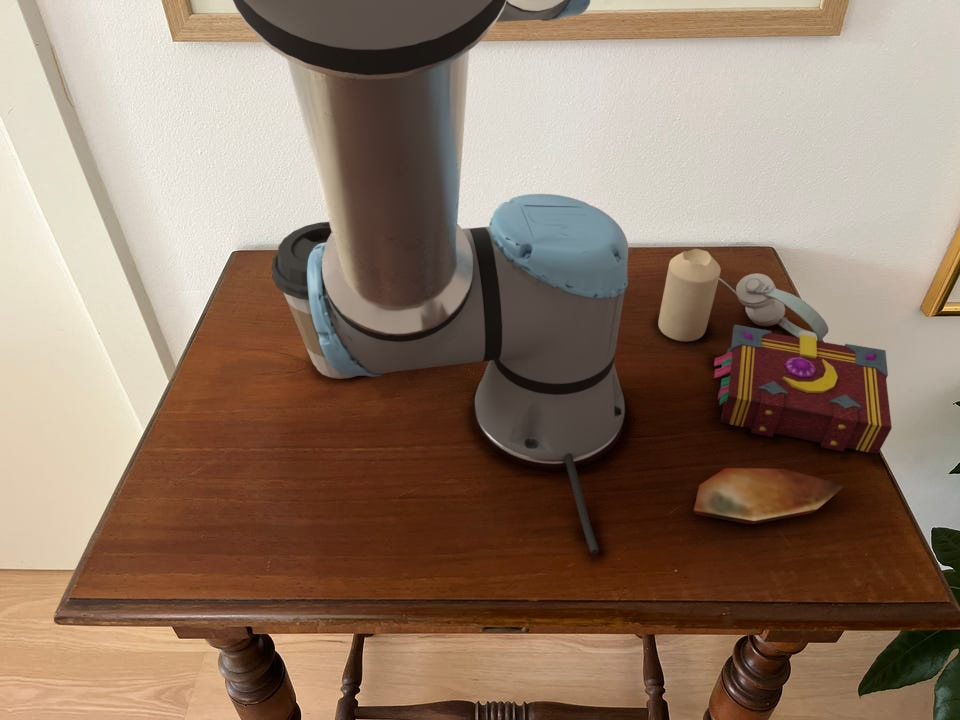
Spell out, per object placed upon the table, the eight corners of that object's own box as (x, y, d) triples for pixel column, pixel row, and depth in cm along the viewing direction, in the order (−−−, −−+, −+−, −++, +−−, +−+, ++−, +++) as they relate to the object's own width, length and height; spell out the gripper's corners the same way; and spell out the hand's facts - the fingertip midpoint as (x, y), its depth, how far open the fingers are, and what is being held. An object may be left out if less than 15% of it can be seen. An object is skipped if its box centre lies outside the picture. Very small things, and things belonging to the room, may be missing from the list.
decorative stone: (864, 517, 62) (853, 542, 63) (842, 473, 66) (832, 498, 68) (697, 502, 62) (691, 527, 64) (687, 460, 67) (682, 484, 69)
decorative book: (878, 460, 70) (896, 426, 66) (706, 425, 74) (715, 391, 70) (870, 380, 78) (887, 345, 74) (715, 352, 82) (724, 318, 78)
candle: (693, 348, 82) (710, 276, 76) (649, 330, 85) (662, 258, 78) (713, 323, 86) (731, 252, 79) (670, 306, 88) (685, 236, 81)
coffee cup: (401, 326, 86) (388, 215, 76) (389, 393, 78) (373, 279, 68) (306, 325, 86) (281, 215, 76) (284, 392, 78) (252, 278, 68)
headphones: (709, 270, 95) (842, 336, 80) (689, 293, 95) (819, 363, 80) (687, 232, 89) (826, 296, 75) (665, 256, 89) (801, 325, 75)
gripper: (305, 73, 70) (340, 272, 86) (439, 70, 70) (449, 270, 86) (317, 45, 76) (347, 238, 92) (441, 43, 76) (450, 235, 92)
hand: (397, 253), depth 89 cm, fingers closed
